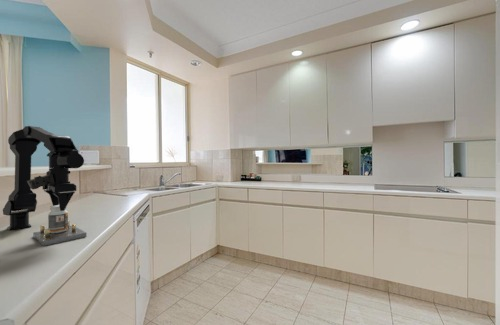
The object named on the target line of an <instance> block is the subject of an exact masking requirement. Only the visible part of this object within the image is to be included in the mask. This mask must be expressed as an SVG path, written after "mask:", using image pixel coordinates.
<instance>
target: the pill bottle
mask: <svg viewBox="0 0 500 325" xmlns="http://www.w3.org/2000/svg"><path fill="white" fill-rule="evenodd" d="M66 209H67V207H66V208H65V210H64V211H60V207H59V205H54V206H53V205H50V206H49V210H50V212H48V220H47V222H48V223H47V225H48V228H47V229H50V233H60V232H64V231H67V230H68V221H69V211H68V210H66Z"/></svg>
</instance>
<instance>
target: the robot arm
mask: <svg viewBox="0 0 500 325" xmlns="http://www.w3.org/2000/svg"><path fill="white" fill-rule="evenodd" d="M7 142H8V145H9V149H10V151H11V152H12V153H13V155H14V156H15V157H14V159H15V160H14V161H15V162H14V188H13V189H14V190H13V191H12V192H11V193H10V194H9V195H8V197H7V198H8V199H7V202H6V203H5V205H4V207H3V208H2V214H3V215H4V216H7V217H8V216H9V226H7V229H8V230H9V231H13V230H21V229H25V228H26V229H27V228H30V227H32V225H31V223H30V213H34V212H35V211H36V209H37V205H38V200H37V194H36V193H35V192H34V191H33V190H38V189H39V188H41V187H42V190H43V192H45V193H47V194H49V198H50V201H51V204H52V206H54V205H59V207H60V211H64V210H66V209H67V206H68V204H69V203H70V201H71V199H72V198H73V195H74V194H75V193H76V191H77V185H76V184H75V183H72V182H71V181H70V178H69V177H70V176H69V175H70V174H71V170H69V169H79V168H81V167H82V166H83V165H84V164H85V159H84V157H83V155H82V154H81V153H79V150H78V148H77V147H76V145H75V144H74V142H73V140H72V138H71V137H70V136H66V135H59V134H54V133H52V132H49V131H48V130H45V129H44V128H43V127H40V126H39V127H38V126H32V125H27V126H24V127H23V128H22V129H18V130H16V131H14V132H12V133H11V134H10V136H8V140H7ZM41 143H43V146H44V148H46V149H47V150H48V151H49V152H48V153H47V154H46V157H48V171H46V175H42V176H41V175H38V176H34V177H33V178H32V155H33V154H34V153H35V152H37V150H38V146H39V144H41ZM65 208H66V209H65Z"/></svg>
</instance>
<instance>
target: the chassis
mask: <svg viewBox="0 0 500 325" xmlns="http://www.w3.org/2000/svg"><path fill="white" fill-rule="evenodd" d="M39 227H40V230H39V231H34V232H32V235H33V238H34V239H35V240H36V241H38V243H40V244H41V245H42V246H43V247H46V246H50V245H54V244H55V245H56V244H58V243H64V242H68V241H72V240H78V239H82V238H86V237H87V232H86V231H84V230H83V229H81V228H79V227H77V224H76V223H74V224H71V222H70V220H68V230H67V231H64V232H60V233H50V229H48V228H46V225H45V224H44V225H43V224H42V225H40V226H39Z"/></svg>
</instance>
